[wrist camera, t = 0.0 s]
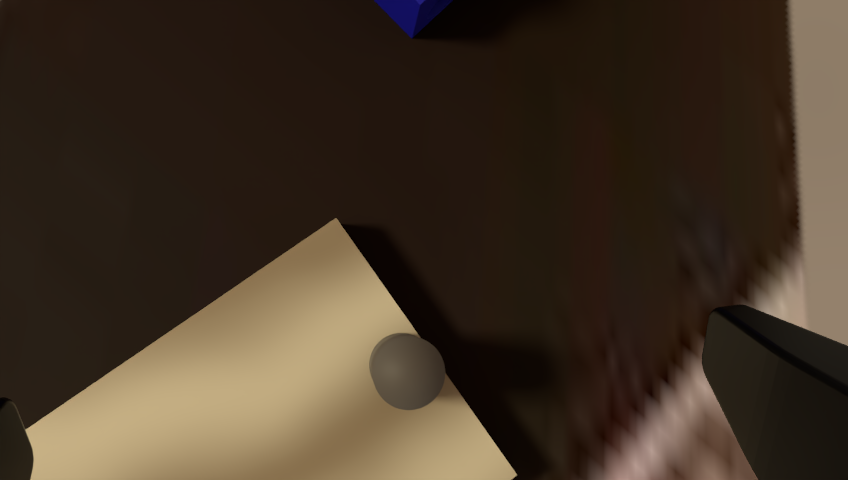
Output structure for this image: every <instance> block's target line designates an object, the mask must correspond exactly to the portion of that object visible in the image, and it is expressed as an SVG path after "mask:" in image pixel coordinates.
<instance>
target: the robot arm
mask: <svg viewBox="0 0 848 480" xmlns="http://www.w3.org/2000/svg"><path fill="white" fill-rule="evenodd" d="M702 365H703V370H704V373H705V376H706V378H707V380H708V382H709V384H710V386H711V388H712V390H713V392H714V394H715V396H716V398H717V400H718V402H719V404H720V406H721V408H722V410H723V412H724V414H725V416H726V418H727V420H728V422H729V424H730V426H731V428H732V430H733V432H734V434H735V436H736V438H737V440H738V443H739V445H740V447H741V449H742V451H743V453H744V455H745V456H746V458H747V460H748V462H749V464H750V466H751V468H752V469H753V471H754V473H755V474H756V476H757V478H758V479H759V480H848V346H847V345H844V344H841V343H839V342H837V341H834V340H832V339H829V338H826V337H824V336H822V335H819V334H816V333H814V332H811V331H809V330H806V329H804V328H801V327H799V326H796V325H794V324H791V323H789V322H786V321H784V320H781V319H779V318H776V317H774V316H771V315H769V314H766V313H764V312H761V311H759V310H756V309H754V308H751V307H749V306H746V305H733V306H725V307H718V308H715V309H714V310H713V311H712V312H711V314H710V316H709V320H708V325H707V331H706V337H705V342H704V348H703V354H702ZM33 462H34V457H33V449H32V446H31V443H30V441H29V438H28V436H27V433H26V430H25V428H24V425H23V423H22V420H21V418H20V415H19V413H18V410H17V408H16V406H15V404H14V403H13V402H12V400H10V399H8V398H5V397H2V398H0V480H30V479H31V474H32V470H33Z"/></svg>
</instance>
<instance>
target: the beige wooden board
mask: <svg viewBox="0 0 848 480" xmlns="http://www.w3.org/2000/svg"><path fill="white" fill-rule="evenodd" d="M26 433H27V436H28V438H29V441H30V443H31V446H32V449H33V457H34V462H33V470H32V474H31V479H30V480H511V479H513V478H514V477H515V476H517V474H516V473H515V471H514V470H513V468H512V467H511V465H510V464H509V463H508V461H507V460H506V458H505V457H504V455H503V454H502V453H501V451H500V450H499V448H498V447H497V446H496V444H495V443H494V441H493V440H492V438H491V437H490V436H489V434H488V433H487V431H486V430H485V428H484V427H483V426H482V424H481V423H480V421H479V420H478V419H477V417H476V416H475V414H474V413H473V411H472V410H471V409H470V407H469V406H468V404H467V403H466V402H465V400H464V399H463V397H462V396H461V394H460V393H459V392H458V390H457V389H456V387H455V386H454V384H453V383H452V382H451V380H450V379H449V377H448V376H447V375H446V373H445V366H444V362H443V359H442V357H441V355H440V353H439V352H438V350H437V349H436V348H435V347H434V346H433V345H432V344H431V343H429V342H428V341H426V340H424V339H421V338H420V336H419V335H418V333H417V332H416V331H415V329H414V328H413V326H412V325H411V323H410V322H409V321H408V319H407V318H406V316H405V315H404V313H403V312H402V311H401V309H400V308H399V306H398V305H397V304H396V302H395V301H394V299H393V298H392V296H391V295H390V294H389V292H388V291H387V289H386V288H385V287H384V285H383V284H382V282H381V281H380V279H379V278H378V277H377V275H376V274H375V272H374V271H373V269H372V268H371V267H370V265H369V264H368V262H367V261H366V260H365V258H364V257H363V255H362V254H361V252H360V251H359V250H358V248H357V247H356V245H355V244H354V243H353V241H352V240H351V238H350V237H349V235H348V234H347V233H346V231H345V230H344V228H343V227H342V225H341V224H340V223H339V221H338V220H337V218H335V219H334V220H332V221H331V222H330V223H328V224H327V225H325V226H324V227H322V228H321V229H319V230H318V231H316V232H315V233H313V234H312V235H310V236H309V237H308V238H306V239H305V240H303V241H302V242H300V243H299V244H297V245H296V246H294V247H293V248H291V249H290V250H288V251H287V252H286V253H284V254H283V255H281V256H280V257H278V258H277V259H275V260H274V261H272V262H271V263H269V264H268V265H266V266H265V267H264V268H262V269H261V270H259V271H258V272H256V273H255V274H253V275H252V276H250V277H249V278H247V279H246V280H245V281H243V282H242V283H240V284H239V285H237V286H236V287H234V288H233V289H231V290H230V291H228V292H227V293H225V294H224V295H223V296H221V297H220V298H218V299H217V300H215V301H214V302H212V303H211V304H209V305H208V306H206V307H205V308H203V309H202V310H201V311H199V312H198V313H196V314H195V315H193V316H192V317H190V318H189V319H187V320H186V321H184V322H183V323H182V324H180V325H179V326H177V327H176V328H174V329H173V330H171V331H170V332H168V333H167V334H165V335H164V336H162V337H161V338H160V339H158V340H157V341H155V342H154V343H152V344H151V345H149V346H148V347H146V348H145V349H143V350H142V351H140V352H139V353H138V354H136V355H135V356H133V357H132V358H130V359H129V360H127V361H126V362H124V363H123V364H121V365H120V366H118V367H117V368H116V369H114V370H113V371H111V372H110V373H108V374H107V375H105V376H104V377H102V378H101V379H99V380H98V381H97V382H95V383H94V384H92V385H91V386H89V387H88V388H86V389H85V390H83V391H82V392H80V393H79V394H77V395H76V396H75V397H73V398H72V399H70V400H69V401H67V402H66V403H64V404H63V405H61V406H60V407H58V408H57V409H55V410H54V411H53V412H51V413H50V414H48V415H47V416H45V417H44V418H42V419H41V420H39V421H38V422H36V423H35V424H33V425H32V426H31V427H29V428H28V429H26Z"/></svg>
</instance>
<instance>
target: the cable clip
mask: <svg viewBox="0 0 848 480" xmlns="http://www.w3.org/2000/svg"><path fill="white" fill-rule="evenodd" d="M374 1H375V2H376V3H377V4H378V5H379V6H380V7H381V8H382V9H383V10H384V11H385V12H386V13H387V14H388V15H389V16H390V17H391V18H392V19H393V20H394V21H395V22H396V23H397V24H398V25H399V26H400V27H401V28H402V29H403V30H404V31H405V32H406V33H407V34H408V35H409V36H410V37H411V38H413V37H414V36H415V35H416V34H417V33H418V32H419V31H421V30H422V29H423V28H424V27H425V26H426V25H427V24H428V23H429V22H430V21H431V20H432V19H433V18H435V17H436V16H437V15H438V14H439V13H440V12H441V11H442V10H443V9H444V8H445V7H446V6H447V5H448V4H450V3H451V2H452V1H453V0H374Z"/></svg>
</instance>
